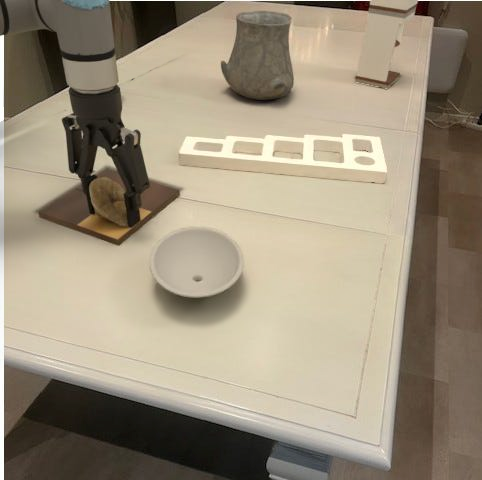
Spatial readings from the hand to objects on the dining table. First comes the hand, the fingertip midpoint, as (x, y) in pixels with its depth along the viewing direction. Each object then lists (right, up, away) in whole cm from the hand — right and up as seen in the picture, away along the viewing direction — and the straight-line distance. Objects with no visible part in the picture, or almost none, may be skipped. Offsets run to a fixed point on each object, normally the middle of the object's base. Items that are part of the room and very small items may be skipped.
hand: (115, 216), depth 87 cm
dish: (+16, -13, -10) cm, 23 cm away
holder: (+32, +19, +24) cm, 45 cm away
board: (-2, +3, +6) cm, 7 cm away
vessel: (+28, +45, +53) cm, 75 cm away
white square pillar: (+66, +56, +66) cm, 109 cm away
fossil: (0, 0, 0) cm, 1 cm away
